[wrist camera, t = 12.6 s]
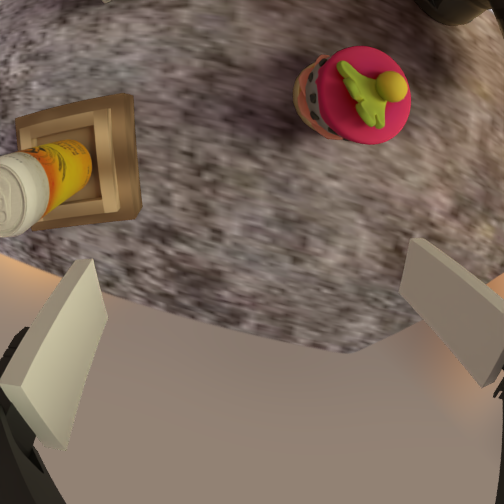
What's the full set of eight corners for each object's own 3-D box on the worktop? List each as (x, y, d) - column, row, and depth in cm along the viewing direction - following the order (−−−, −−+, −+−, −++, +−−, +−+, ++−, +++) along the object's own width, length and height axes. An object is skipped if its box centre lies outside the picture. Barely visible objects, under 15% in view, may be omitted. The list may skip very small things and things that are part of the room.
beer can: (94, 137, 29) (26, 154, 16) (95, 191, 32) (35, 243, 18) (46, 140, 28) (-35, 163, 15) (48, 193, 30) (-25, 242, 17)
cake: (327, 43, 33) (389, 15, 19) (379, 101, 37) (454, 105, 23) (272, 95, 35) (313, 85, 21) (330, 153, 39) (392, 176, 25)
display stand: (34, 116, 31) (8, 119, 25) (133, 95, 32) (119, 91, 26) (48, 218, 36) (26, 235, 31) (142, 206, 38) (132, 223, 32)
